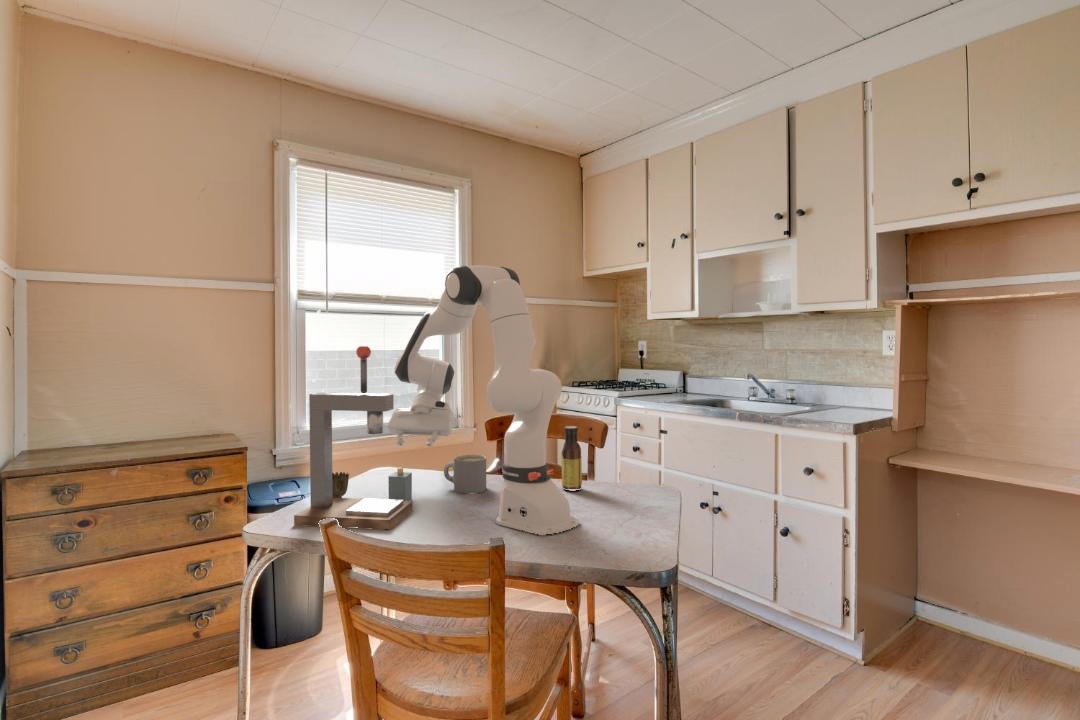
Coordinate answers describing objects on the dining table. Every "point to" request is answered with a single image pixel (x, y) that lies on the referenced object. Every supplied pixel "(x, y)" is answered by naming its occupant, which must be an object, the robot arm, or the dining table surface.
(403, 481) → the housing
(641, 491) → the dining table surface
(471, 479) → the coffee mug
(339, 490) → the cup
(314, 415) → the press frame
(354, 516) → the press base
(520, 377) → the robot arm
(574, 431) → the sauce bottle
